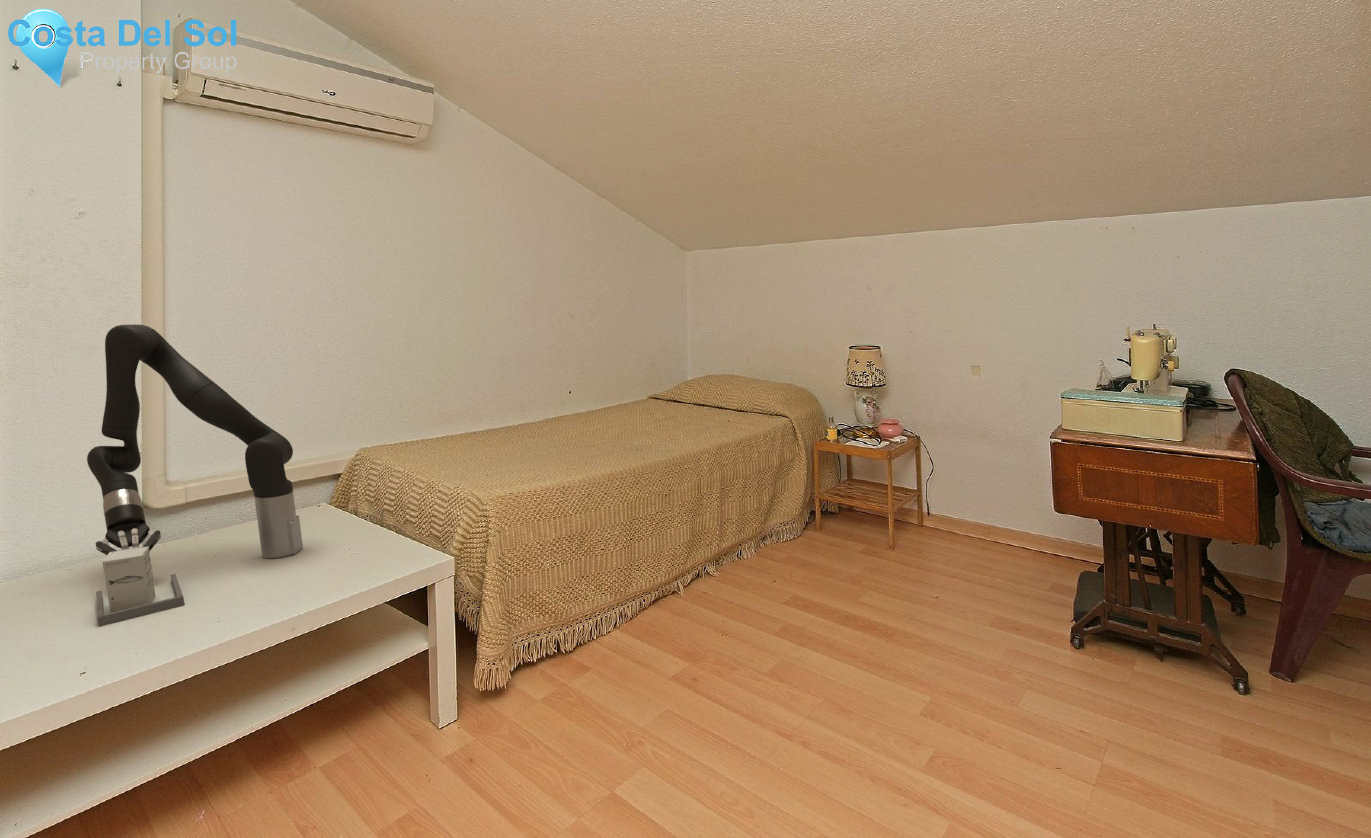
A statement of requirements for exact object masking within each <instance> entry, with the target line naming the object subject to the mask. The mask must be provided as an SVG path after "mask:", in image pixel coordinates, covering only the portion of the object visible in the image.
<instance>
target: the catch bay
mask: <svg viewBox="0 0 1371 838" xmlns="http://www.w3.org/2000/svg"><path fill="white" fill-rule="evenodd" d="M170 581H171V585H172V589H173V591H174V594H175V596H174V597H170V598H165V599H163V600H158V601H154V602H153V601H152V603H149V604H145V605H141V606H137V607H133V608H128V609H124V610H120V611H116V612H112V613H110V612H109V613H105V610H104V609H105V608H104V607H105V606H104V605H105V604H104V597H103V591H102V590H96V592H95V596H96V597H95V598H96V599H95V601H96V621H97V625H98V627H101V626H105V625H109V624H114V623H117V622H122V621H125V620H129V619H134V618H139V617H141V616H145V614H146V615H150V614H153V613H157V611H158V612H161V611H165V610H170V609H174V608H177V607H181V606H185V598H184V594H183V592H182V589H181V586H180V583H179V580H178V577H177V575H176V573H173V574H170Z"/></svg>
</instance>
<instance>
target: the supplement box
mask: <svg viewBox="0 0 1371 838" xmlns="http://www.w3.org/2000/svg"><path fill="white" fill-rule="evenodd" d="M151 562H152V560H151V554H150V552H149V547H143V546H142V547H139V548H135V549H133V548H129V549H128V550H122V549H121V550H117V551H114V552H109V553H108V555H106V556H105V557H104V559H103V560H102V567H103V574H104V579H105V587H106V591H107V592H106V593H107V599H108V603H109V613H112V612H116V611H120V610H124V609H128V608H133V607H137V606H141V605H145V604H149V603H153V601H154V599H155V596H156V591H155V583H154V575H153V568H152V563H151Z"/></svg>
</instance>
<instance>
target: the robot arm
mask: <svg viewBox="0 0 1371 838" xmlns="http://www.w3.org/2000/svg"><path fill="white" fill-rule="evenodd" d="M104 350H105V351H104V353H105V373H106V374H105V376H106V378H105V379H106V395H105V404H104V405H105V406H104V410H103V415H102V416H103V417H102V425H101V434H102V435H103V436H104V437H106V438H109V439H113V440H118V441H122V442H123V445H98V446H94V447H93V448H92V449H90V451H89V452H88V454H87V456H86V463H87V467H88V468H89V470H90V471H91V473H92V475H93V476H94V477H95V479H96V480H97V483H98V484H99V486H100V489H101V495H102V500H103V501H102V503H103V504H102V507H103V508H102V509H103V516H104V521H105V526H106V533H105V536H104V537H105V538H103V539H102V540H98V541H96V542H95V548H96V550H97V551H98V552H100V553H102V554H104V555H106V556H107V555H108V553H109V552H114V551H118V550H117V549H118V548H119V549H121V550H128V549H130V547H131V548H132V549H135V548H140V545H142V544H143V542H144V541H145V539H147V537H148V539H147V541H146V542H145V543H144V545H143V546H142V547H149V553H150V552H151V550H152V549H154V547H155V546H156V544H157V543H158V542H159V540H160V539H161V537H162V535H161V534H162V533H161V531H160V530H152V529H151V528H150V527H149V525H148V524H147V521H146V516H145V512H144V505H143V501H142V498H141V496H140V492H139V487H138V483H137V482H138V481H137V479H136V477H135V476H134V475H133V474H132V473H133V472H135V471H136V470H138V469H139V467H140V466H141V461H142V460H141V459H142V458H141V453H140V449H139V443H138V427H139V426H138V425H139V418H140V410H141V407H140V405H141V403H140V399H139V395H138V391H137V385H136V373H137V369H138V365H139V363H140V361H141V362H142V363H144V364H145V365H146V366H149V367H150V368H151V369H152V370H154V371H155V372H156V373H158V374H159V375H160V376H161V377H162V378H163V380H164V381H165V382H166V383H167V385H168V387H169V389H170V390H171V392H172V394H173V395H174V397H175V398H176V400H177V401H178V402H179V403H180V404H181V405H182V406H183V407H185V408H186V409H187V410H189V411H190V412H191V413H192V414H193V415H194V416H196V418H198V419H199V420H202V421H204V422H205V423H207V424H209V425H211V426H214V427H216V428H218V429H221V430H223V431H225V432H227V433H229V434H231V435H233V436H235V438H238V439H239V440H240V441H242V442H243V443H244V444H245V445H247V447H246V449H245V452H244V453H245V454H244V461H245V469H246V472H247V478H248V479H247V480H248V483H249V486H250V488H251V489H252V492H253V497H254V505H255V512H256V520H257V521H256V522H257V528H258V536H259V543H260V544H259V545H260V551H261V555H262V557H263V558H265V559H278V558H279V559H280V558H283V557H287V556H293V555H296V554H298V553H299V551H301V549H303V547H304V546H303V536H302V528H301V519H300V515H299V514H298V515H297V512H296V503H295V496H294V487H293V482H292V481H291V480H290V479H288V478H287V475H286V470H285V465H286V464H288V462H289V461H291V459H292V457H293V455H294V449H293V446H292V444H291V442H290V441H289V440H288V439H287V438H286V437H285V436H284V435H282V434H280V433H279V432H277V430H275V429H273V428H271V427H270V426H269V425H267V424H266V423H264V422H263V421H262V420H260V419H258V418H257V417H256V416H255V415H253V414H252V413H251V412H250V411H249V410H248V409H246V408H245V406H243V405H242V404H241V403H240V402H238V401H237V400H236V399H235V398H234V397H232V396H231V395H230V394H229V393H228V392H226V390H225V389H223V388H222V387H221V386H219V384H217V383H216V382H215V381H214V380H212V379H210V377H208V376H207V375H206V374H204V373H203V372H202V371H201V370H200V369H198V368H197V367H195V365H194V364H192V363H190V362H189V361H188V360H186V358H185V357H183V356H182V355H181V354H180V353H179V352H178V351H177V350H176V349H175V348H174V347H173V346H172V345H171V344H170V343H169V342H168V341H167V340H166V339H165V337H163V335H161V334H160V333H159V332H158V331H156V329H154V328H152V327H151V326H148V325H144V324H120V325H116V326H114V327H112V328H111V329H109V330H108V332H107V333H106V335H105V338H104ZM110 544H111V545H113V546H114V547H116V548H117V549H115V548H114V547H112V546H110Z"/></svg>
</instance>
